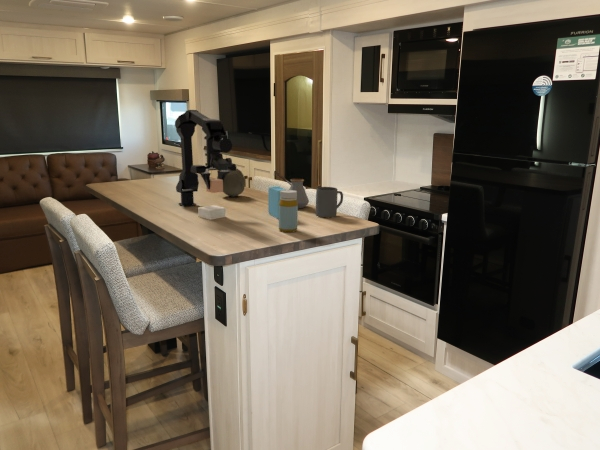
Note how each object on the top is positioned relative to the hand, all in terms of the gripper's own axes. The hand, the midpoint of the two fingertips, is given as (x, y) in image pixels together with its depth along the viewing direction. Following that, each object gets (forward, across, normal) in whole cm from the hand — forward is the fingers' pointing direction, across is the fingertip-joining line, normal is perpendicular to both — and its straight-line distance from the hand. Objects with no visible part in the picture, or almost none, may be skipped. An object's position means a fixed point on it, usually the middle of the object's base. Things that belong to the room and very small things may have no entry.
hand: (214, 188), depth 198 cm
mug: (+12, +41, -28) cm, 51 cm away
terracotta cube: (+1, 0, 0) cm, 1 cm away
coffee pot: (+12, +40, 0) cm, 41 cm away
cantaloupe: (+11, +28, +34) cm, 45 cm away
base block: (+12, -2, -2) cm, 12 cm away
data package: (+12, +21, -16) cm, 29 cm away
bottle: (+12, +10, -38) cm, 41 cm away
